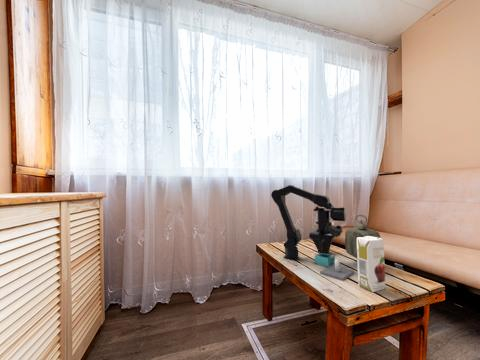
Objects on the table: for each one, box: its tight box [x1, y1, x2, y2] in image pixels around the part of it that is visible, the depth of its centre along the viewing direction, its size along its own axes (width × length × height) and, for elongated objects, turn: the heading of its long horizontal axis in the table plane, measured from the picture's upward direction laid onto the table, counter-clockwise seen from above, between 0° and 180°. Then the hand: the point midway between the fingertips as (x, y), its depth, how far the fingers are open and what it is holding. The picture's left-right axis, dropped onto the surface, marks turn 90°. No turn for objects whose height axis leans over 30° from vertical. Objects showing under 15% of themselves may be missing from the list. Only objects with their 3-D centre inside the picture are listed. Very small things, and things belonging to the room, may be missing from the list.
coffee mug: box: [317, 238, 331, 254], centre depth 130 cm, size 12×9×10 cm
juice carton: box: [356, 236, 386, 293], centre depth 83 cm, size 8×9×19 cm
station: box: [320, 258, 355, 281], centre depth 96 cm, size 10×12×6 cm
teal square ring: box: [314, 253, 336, 268], centre depth 109 cm, size 7×7×4 cm
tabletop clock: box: [344, 214, 381, 259], centre depth 107 cm, size 14×9×25 cm, turn 14°
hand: (324, 250), depth 109 cm, fingers open, 9 cm apart
